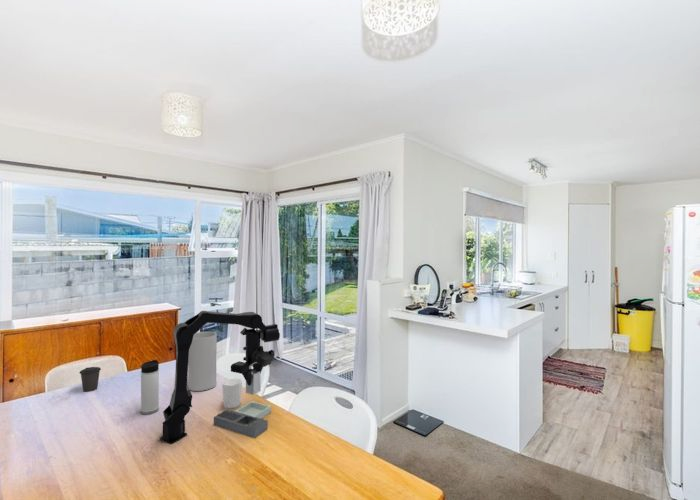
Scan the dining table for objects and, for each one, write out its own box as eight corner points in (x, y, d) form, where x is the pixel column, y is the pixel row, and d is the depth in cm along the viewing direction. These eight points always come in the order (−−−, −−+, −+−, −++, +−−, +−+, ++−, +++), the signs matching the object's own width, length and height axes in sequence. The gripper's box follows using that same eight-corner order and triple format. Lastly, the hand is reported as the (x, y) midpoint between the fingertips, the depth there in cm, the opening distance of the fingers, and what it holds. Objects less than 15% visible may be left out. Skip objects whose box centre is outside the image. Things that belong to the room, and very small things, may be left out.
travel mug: (162, 407, 144) (162, 360, 144) (152, 415, 138) (152, 365, 137) (148, 406, 145) (148, 359, 144) (137, 414, 138) (137, 364, 138)
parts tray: (254, 423, 131) (254, 416, 131) (234, 417, 136) (234, 411, 136) (270, 412, 140) (270, 406, 140) (251, 407, 145) (251, 401, 145)
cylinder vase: (192, 382, 171) (192, 332, 171) (218, 380, 173) (218, 331, 173) (184, 392, 159) (184, 338, 158) (213, 390, 161) (213, 337, 161)
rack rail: (254, 438, 122) (254, 429, 122) (213, 424, 130) (213, 416, 130) (267, 428, 128) (267, 420, 128) (227, 416, 137) (227, 409, 137)
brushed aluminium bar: (253, 394, 135) (253, 374, 135) (245, 392, 137) (245, 372, 136) (260, 390, 138) (260, 371, 138) (252, 389, 140) (252, 369, 140)
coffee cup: (83, 387, 164) (83, 366, 164) (103, 385, 167) (103, 364, 167) (76, 394, 156) (76, 372, 156) (96, 391, 159) (96, 370, 159)
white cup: (238, 409, 143) (238, 385, 143) (219, 409, 143) (219, 385, 143) (244, 400, 151) (244, 378, 151) (226, 400, 151) (226, 378, 151)
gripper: (252, 353, 125) (252, 396, 126) (283, 341, 142) (283, 378, 142) (229, 349, 130) (229, 390, 131) (262, 337, 147) (262, 374, 147)
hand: (253, 383), depth 138 cm, fingers closed on brushed aluminium bar, 4 cm apart
